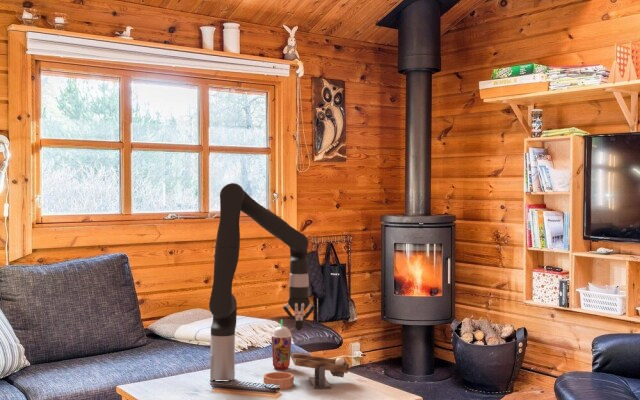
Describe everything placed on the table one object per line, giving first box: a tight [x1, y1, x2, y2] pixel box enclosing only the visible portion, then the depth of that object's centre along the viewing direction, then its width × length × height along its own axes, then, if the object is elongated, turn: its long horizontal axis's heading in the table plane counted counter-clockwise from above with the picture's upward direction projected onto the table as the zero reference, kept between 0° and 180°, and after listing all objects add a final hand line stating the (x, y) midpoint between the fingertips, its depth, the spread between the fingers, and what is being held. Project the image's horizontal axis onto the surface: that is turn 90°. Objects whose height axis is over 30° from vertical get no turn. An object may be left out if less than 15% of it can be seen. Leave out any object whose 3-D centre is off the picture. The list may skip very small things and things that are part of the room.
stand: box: [308, 366, 331, 390], centre depth 271 cm, size 6×14×8 cm, turn 9°
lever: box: [290, 352, 350, 378], centre depth 275 cm, size 20×17×5 cm
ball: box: [335, 357, 345, 365], centre depth 272 cm, size 4×4×4 cm
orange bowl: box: [262, 371, 295, 390], centre depth 268 cm, size 11×11×4 cm
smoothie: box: [270, 319, 292, 371], centre depth 294 cm, size 8×8×20 cm
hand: (298, 329), depth 278 cm, fingers closed
